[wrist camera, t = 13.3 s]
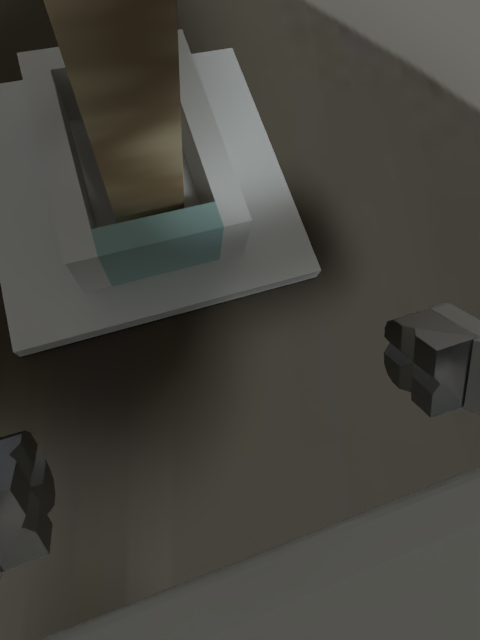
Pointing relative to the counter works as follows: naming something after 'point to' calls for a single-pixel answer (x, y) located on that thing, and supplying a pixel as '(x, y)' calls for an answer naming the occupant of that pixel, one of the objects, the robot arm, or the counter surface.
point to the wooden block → (127, 96)
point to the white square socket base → (144, 233)
